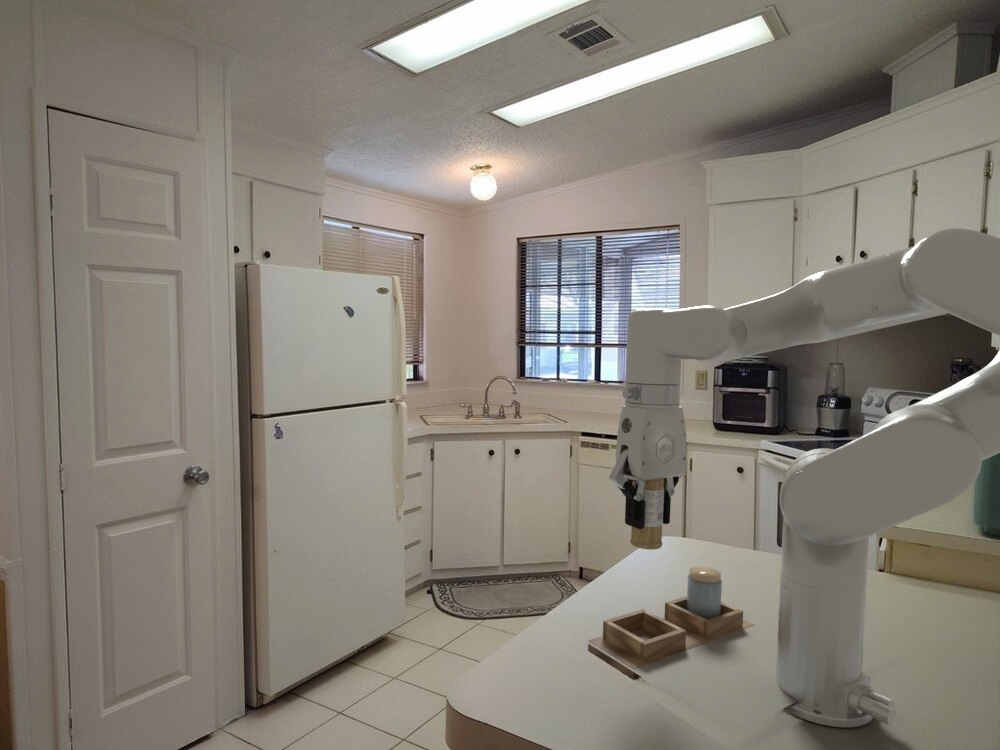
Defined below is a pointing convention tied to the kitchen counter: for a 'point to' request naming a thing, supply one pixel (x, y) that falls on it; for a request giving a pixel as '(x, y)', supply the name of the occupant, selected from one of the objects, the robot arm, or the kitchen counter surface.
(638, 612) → the spice rail
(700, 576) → the spice pot
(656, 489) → the sprinkles bottle
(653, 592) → the kitchen counter surface
